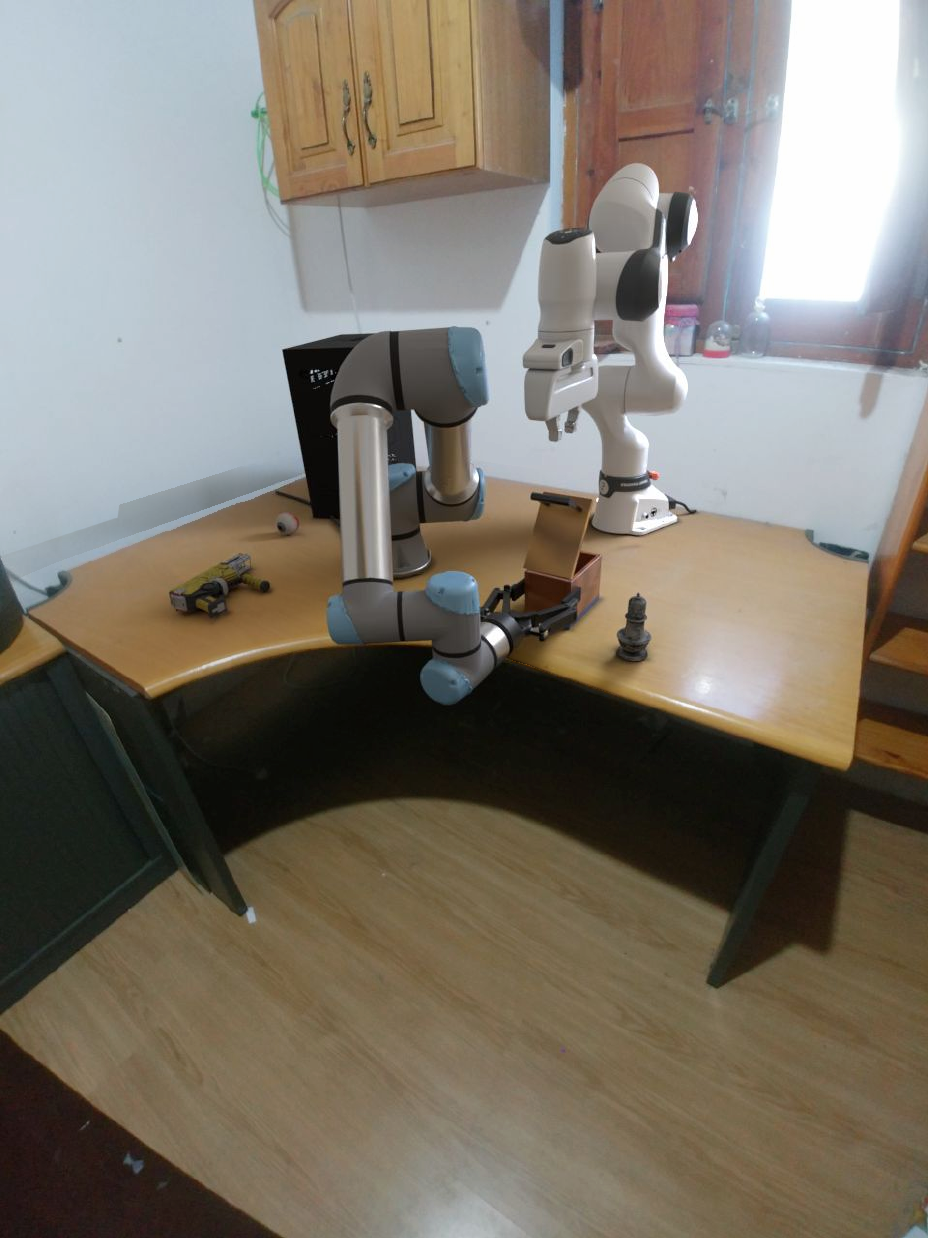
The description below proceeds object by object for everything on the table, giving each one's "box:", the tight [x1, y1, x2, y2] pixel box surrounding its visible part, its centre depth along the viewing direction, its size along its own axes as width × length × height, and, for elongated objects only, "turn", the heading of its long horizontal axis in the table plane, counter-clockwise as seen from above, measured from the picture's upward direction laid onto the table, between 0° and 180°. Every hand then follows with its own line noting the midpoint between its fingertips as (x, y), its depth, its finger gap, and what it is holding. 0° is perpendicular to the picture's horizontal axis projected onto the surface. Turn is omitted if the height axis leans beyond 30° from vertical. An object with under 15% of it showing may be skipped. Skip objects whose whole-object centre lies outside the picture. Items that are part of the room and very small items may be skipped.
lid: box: [522, 491, 595, 580], centre depth 108 cm, size 15×10×8 cm
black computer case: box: [281, 332, 418, 519], centre depth 178 cm, size 38×20×45 cm, turn 167°
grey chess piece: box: [616, 592, 652, 662], centre depth 103 cm, size 6×6×12 cm
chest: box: [523, 550, 603, 630], centre depth 120 cm, size 14×10×10 cm
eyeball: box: [275, 511, 300, 536], centre depth 163 cm, size 6×6×6 cm
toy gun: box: [168, 552, 271, 619], centre depth 134 cm, size 5×24×15 cm
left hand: (553, 587), depth 116 cm, fingers closed on chest, 10 cm apart
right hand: (563, 436), depth 104 cm, fingers open, 4 cm apart
